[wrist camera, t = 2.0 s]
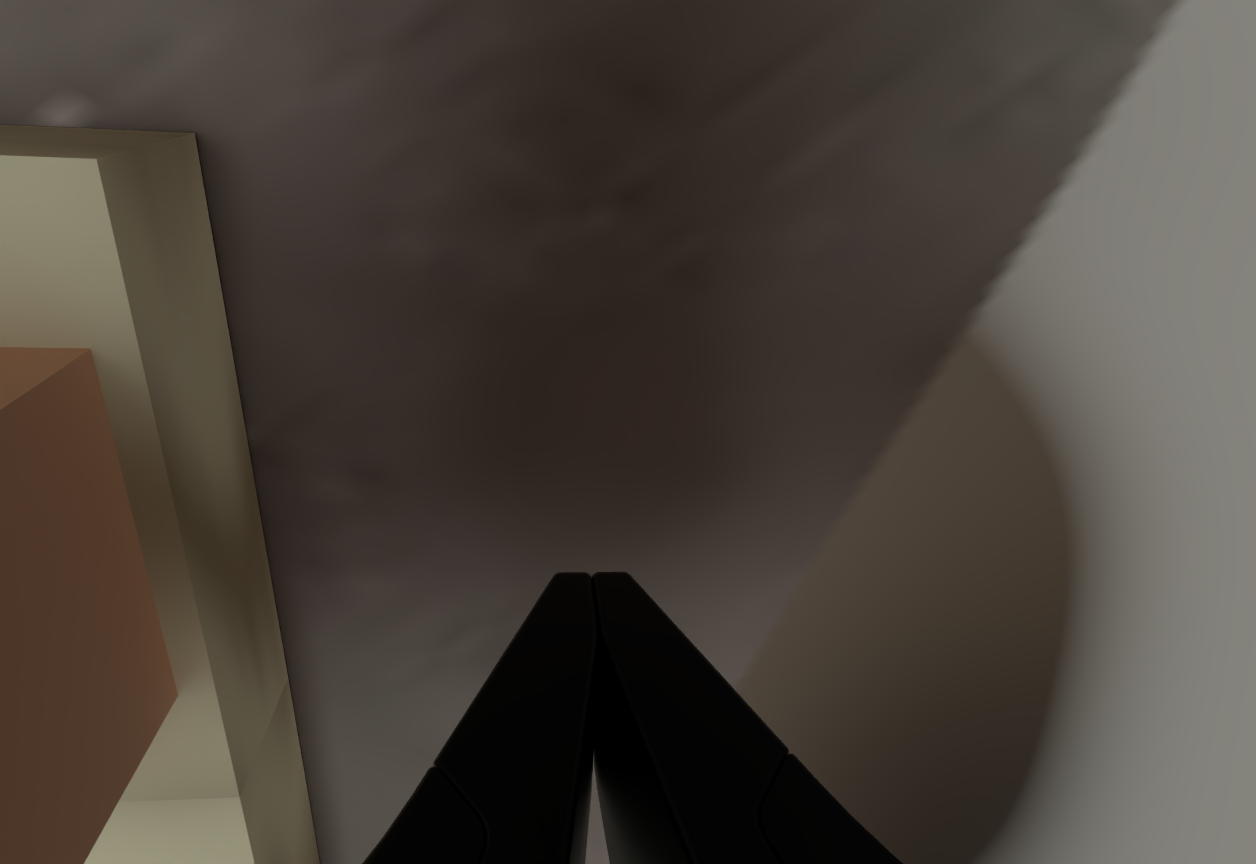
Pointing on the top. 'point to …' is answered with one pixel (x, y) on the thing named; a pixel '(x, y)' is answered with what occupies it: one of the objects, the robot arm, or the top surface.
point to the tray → (166, 476)
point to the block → (69, 613)
